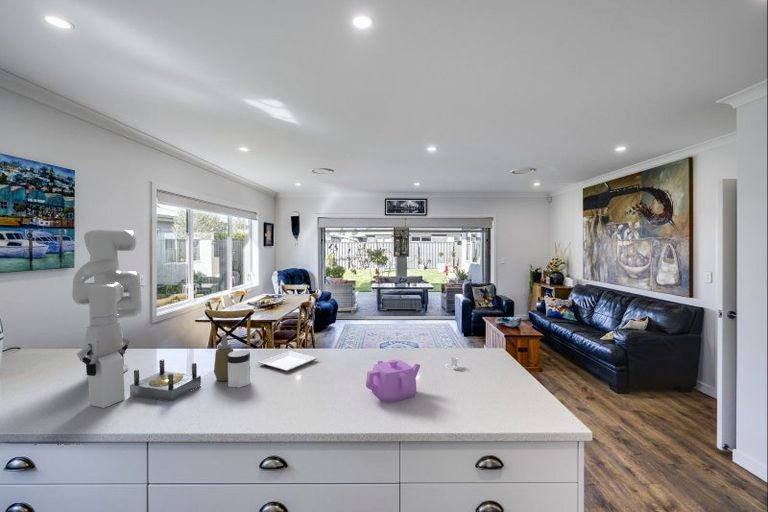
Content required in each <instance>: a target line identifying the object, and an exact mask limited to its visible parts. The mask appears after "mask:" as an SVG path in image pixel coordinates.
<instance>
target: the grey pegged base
mask: <svg viewBox="0 0 768 512" xmlns="http://www.w3.org/2000/svg"><path fill="white" fill-rule="evenodd" d="M158 362H159V372H157V373H154V374H153V375H149V376H148V377H145V378H143V379H141V380H140V369H134V370H133V382H134V383H132V384H129V396H130V397H134V398H135V397H136V398H140V399H141V398H142V399H143V398H144V399H148V400H149V399H150V400H154V401H155V400H156V401H163V402H170V403H172V402H174V401H176V400H177V399H179V398H181V397H183V396H185V395H186V393H187V394H188V392H189V393H191V392H192V391H194V390H196V389H197V388H196V387H198V386H200V385H201V386H202V378H201V377H202V376H201V375H198V373H197V371H198V369H197V367H198V366H197V363H196V362H193V363H191V373H181V372H172V371H165V359H159V361H158ZM201 386H200V387H201ZM195 388H196V389H195ZM198 388H199V387H198ZM193 389H194V390H193ZM191 390H192V391H191ZM190 391H191V392H190Z"/></svg>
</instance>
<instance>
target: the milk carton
mask: <svg viewBox="0 0 768 512" xmlns="http://www.w3.org/2000/svg"><path fill="white" fill-rule="evenodd" d="M123 357H124V356H123ZM123 357H122V356H121V354H120V353H119V352H118V351H115V352H112V353H109V354H106V355H102V356H98V357H97V358H96V360H95V362H94V363H95V364H96V375H95V376H89V375H87V381H88V402H89V406H94V407H98V408H103V409H105V408H108V407H110V406H112V405H114V404H117V403H120V402H122V401H123V400H125V398H126V397H125V396H126V394H125V376H124V375H125V374H124V373H125V372H124V369H123ZM90 360H91V359H90Z"/></svg>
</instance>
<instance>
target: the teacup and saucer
mask: <svg viewBox="0 0 768 512" xmlns="http://www.w3.org/2000/svg"><path fill="white" fill-rule="evenodd" d="M449 359H450V362H449V363H446V364H445V365H444V367H445V368H446V369H448V370H453V371H455V370H456V371H457V370H458V371H459V370H462V369H464V366H463V365H462V364H459V363H458V357H455V356H452V357H450V358H449ZM449 365H450V367H448V366H449Z"/></svg>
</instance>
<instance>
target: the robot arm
mask: <svg viewBox="0 0 768 512" xmlns="http://www.w3.org/2000/svg"><path fill="white" fill-rule="evenodd" d="M83 240H84V245H85V247H86V250H87V252H88V254H89V260H88V261H87V262H86V263H84V264H83V265H82V266H81V267H79V269H78V270H77V271H76V272H75V274H74V276H73V281H72V289H71V291H72V293H71V294H72V300H73V302H74V303H75V304H77V305H81V306H83V305H84V306H85V305H88V308H89V309H88V311H89V326H87V328H86V330H85V331H86V332H85V337H84V348H82V349H81V350H80V351H78V352H77V354H76V356H77V357H78V359H79V360H80V362H82V363H83V364H85V370H86V371H85V372H86V376H88V375H89V376H95V375H96V364H95V363H94V362H95V360H96V358H97V357H98V356H102V355H106V354H109V353H112V352H115V351H118V352H119V353H120V354H121V356H122V357H123V369H124V373H125V372H127V371H128V370H129V365H127V364H125V362H124V361H125V360H124V357H125V356H124V355H125V354H126V351H127V349H128V348H129V344H130V342H131V341H130V339H129V338H124V335H123V328H122V326H121V325H120V322H119V321H118V320H123V319H132V318H133V319H134V318H137V317H140V315H141V314H142V310H143V304H142V289H141V287H142V286H141V278H140V276H139V273H138V272H137V271H133V270H132V271H131V270H128V271H127V270H126V271H125V270H124V271H123V270H122V271H120V268H119V267H120V266H119V264H120V263H119V262H120V261H119V255H118V252H133V251H134V250H135V249H136V246H137V237H136V234H135V232H134V230H132V229H94V230H88V231H86V232H85V234H84V236H83ZM91 278H93V282H86V281H88V280H89V279H91ZM125 294H127V295H125ZM90 359H91V360H90Z"/></svg>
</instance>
